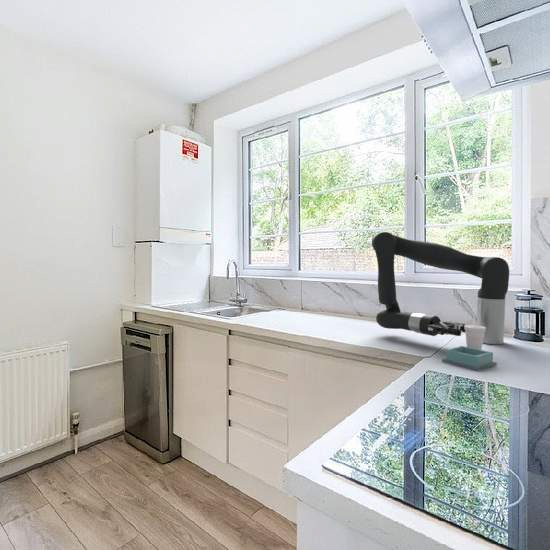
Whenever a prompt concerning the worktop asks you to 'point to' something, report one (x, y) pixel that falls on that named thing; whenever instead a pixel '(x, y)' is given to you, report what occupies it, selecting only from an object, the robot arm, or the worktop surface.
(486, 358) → the tray
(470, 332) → the smoothie
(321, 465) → the worktop surface
